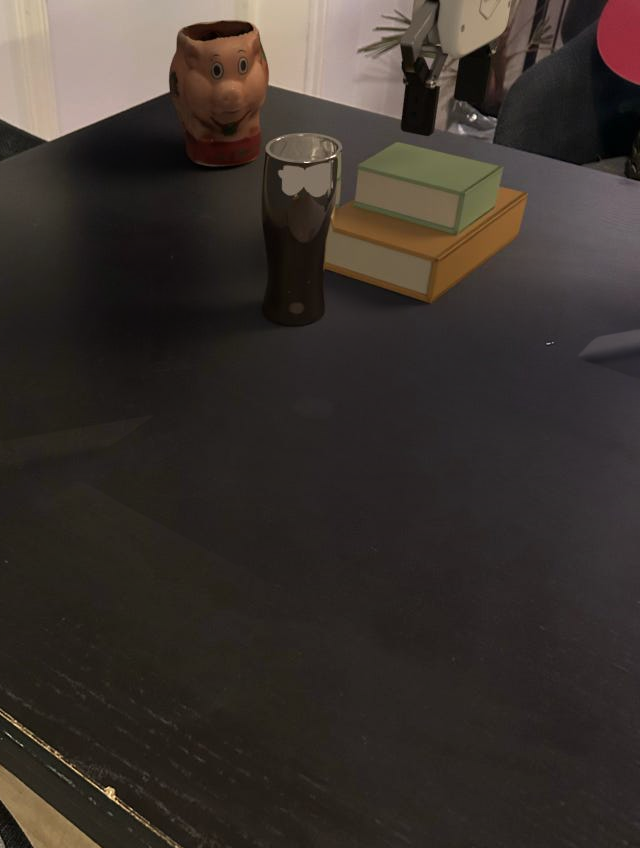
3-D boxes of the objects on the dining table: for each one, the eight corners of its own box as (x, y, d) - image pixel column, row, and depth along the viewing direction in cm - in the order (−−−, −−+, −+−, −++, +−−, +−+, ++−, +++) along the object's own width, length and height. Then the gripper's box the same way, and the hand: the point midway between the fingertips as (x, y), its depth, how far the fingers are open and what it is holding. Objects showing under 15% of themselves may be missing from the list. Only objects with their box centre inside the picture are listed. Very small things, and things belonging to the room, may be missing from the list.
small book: (494, 208, 92) (503, 166, 89) (457, 235, 88) (465, 192, 85) (391, 181, 97) (397, 141, 94) (352, 205, 94) (357, 165, 91)
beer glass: (244, 305, 90) (248, 142, 79) (303, 287, 92) (315, 126, 81) (282, 335, 86) (291, 168, 75) (343, 316, 88) (361, 150, 77)
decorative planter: (155, 131, 123) (149, 10, 113) (241, 119, 125) (243, -2, 114) (192, 187, 110) (189, 55, 100) (288, 173, 111) (295, 42, 101)
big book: (517, 236, 97) (528, 193, 94) (431, 303, 88) (439, 258, 85) (403, 205, 104) (409, 163, 100) (312, 265, 95) (315, 221, 92)
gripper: (465, -91, 68) (431, 153, 80) (568, -132, 76) (523, 95, 89) (379, -96, 71) (359, 138, 84) (486, -135, 80) (453, 84, 92)
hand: (443, 116), depth 86 cm, fingers open, 9 cm apart
